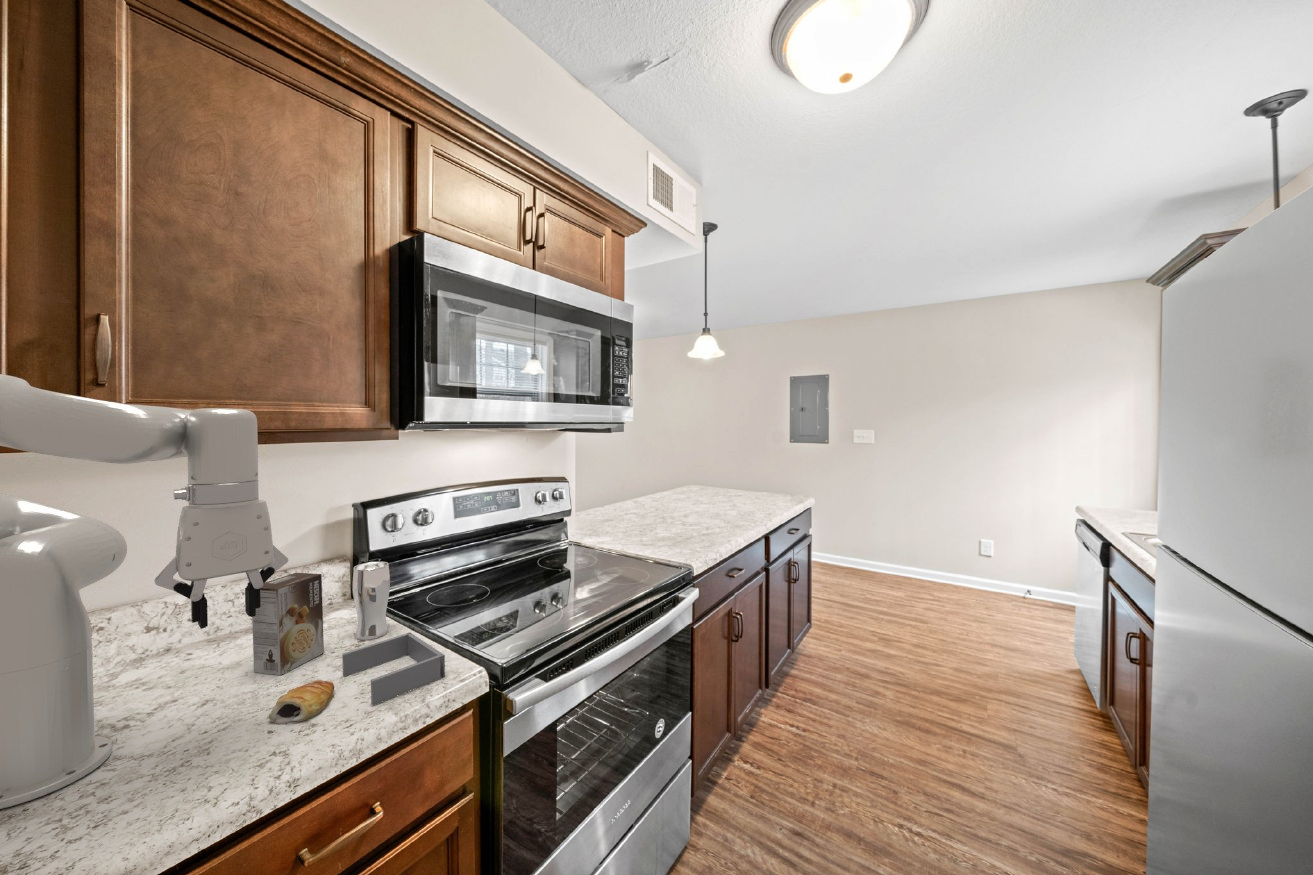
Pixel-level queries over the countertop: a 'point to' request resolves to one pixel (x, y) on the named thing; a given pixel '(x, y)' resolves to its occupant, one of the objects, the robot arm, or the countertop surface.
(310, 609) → the coffee box
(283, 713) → the pastry
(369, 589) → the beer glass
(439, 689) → the countertop surface
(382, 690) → the box
